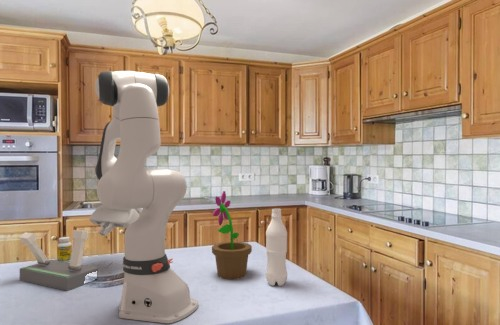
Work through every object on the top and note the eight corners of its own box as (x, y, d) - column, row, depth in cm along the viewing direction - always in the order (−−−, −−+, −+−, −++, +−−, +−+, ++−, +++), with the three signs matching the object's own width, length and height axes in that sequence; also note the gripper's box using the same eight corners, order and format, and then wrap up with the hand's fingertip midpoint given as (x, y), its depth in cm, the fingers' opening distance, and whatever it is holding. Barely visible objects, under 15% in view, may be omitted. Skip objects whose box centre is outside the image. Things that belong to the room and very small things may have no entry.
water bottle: (291, 283, 120) (291, 209, 119) (278, 289, 114) (278, 211, 114) (275, 278, 125) (274, 206, 124) (261, 283, 119) (261, 209, 119)
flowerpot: (224, 266, 138) (224, 189, 138) (258, 271, 132) (257, 190, 132) (204, 277, 125) (203, 192, 125) (240, 283, 119) (240, 194, 119)
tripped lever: (82, 270, 120) (88, 231, 123) (75, 271, 118) (82, 230, 120) (73, 269, 122) (79, 230, 125) (66, 269, 120) (73, 229, 122)
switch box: (98, 279, 124) (97, 266, 124) (67, 291, 113) (67, 277, 113) (51, 270, 134) (51, 258, 134) (19, 280, 123) (19, 267, 123)
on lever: (51, 261, 128) (33, 233, 121) (45, 267, 126) (27, 238, 119) (43, 260, 129) (25, 232, 123) (37, 265, 127) (18, 237, 121)
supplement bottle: (71, 258, 150) (70, 235, 150) (72, 261, 145) (72, 238, 145) (56, 260, 147) (56, 237, 147) (57, 263, 142) (57, 239, 142)
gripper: (98, 198, 142) (77, 227, 133) (137, 201, 133) (118, 232, 124) (107, 208, 146) (87, 236, 137) (146, 211, 137) (127, 242, 128)
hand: (102, 234), depth 131 cm, fingers closed
